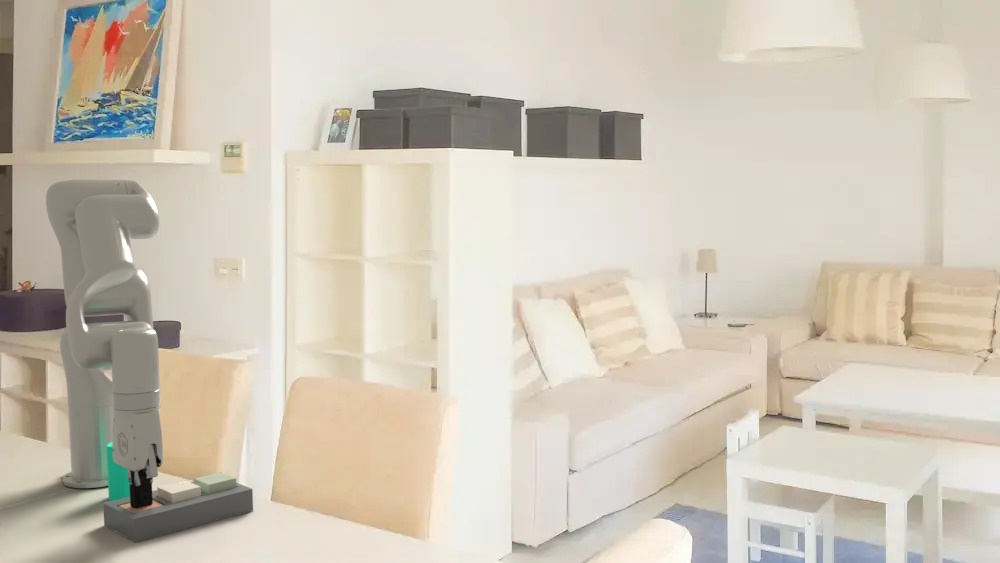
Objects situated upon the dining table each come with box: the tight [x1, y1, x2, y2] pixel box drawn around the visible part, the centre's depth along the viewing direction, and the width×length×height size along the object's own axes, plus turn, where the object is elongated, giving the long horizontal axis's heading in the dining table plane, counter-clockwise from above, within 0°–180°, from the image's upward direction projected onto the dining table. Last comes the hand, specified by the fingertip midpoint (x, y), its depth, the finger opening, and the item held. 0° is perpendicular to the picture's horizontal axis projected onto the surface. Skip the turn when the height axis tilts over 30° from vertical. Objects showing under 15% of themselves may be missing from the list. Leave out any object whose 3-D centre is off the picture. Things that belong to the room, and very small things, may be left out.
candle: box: [107, 442, 132, 501], centre depth 182 cm, size 6×6×12 cm
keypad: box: [102, 481, 254, 543], centre depth 170 cm, size 12×22×4 cm, turn 136°
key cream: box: [156, 480, 201, 503], centre depth 170 cm, size 5×5×3 cm
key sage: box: [193, 471, 237, 494], centre depth 175 cm, size 5×5×3 cm
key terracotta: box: [119, 500, 163, 513], centre depth 165 cm, size 5×5×3 cm
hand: (141, 505), depth 165 cm, fingers closed
